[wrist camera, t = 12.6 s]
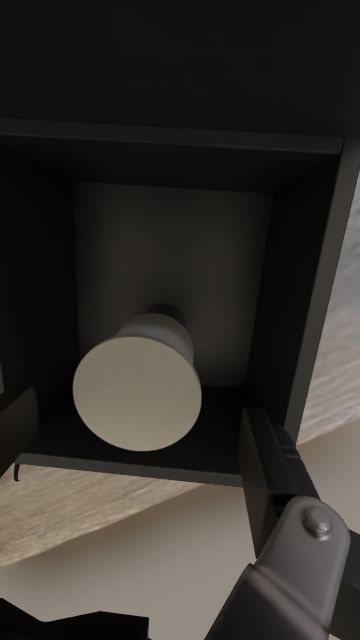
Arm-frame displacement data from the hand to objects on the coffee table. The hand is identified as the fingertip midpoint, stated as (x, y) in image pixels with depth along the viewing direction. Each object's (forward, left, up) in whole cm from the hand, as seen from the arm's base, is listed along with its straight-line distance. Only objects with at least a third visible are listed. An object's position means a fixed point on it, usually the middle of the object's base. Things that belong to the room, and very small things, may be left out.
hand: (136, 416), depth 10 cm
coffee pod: (0, 0, -7) cm, 7 cm away
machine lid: (-2, +8, +6) cm, 10 cm away
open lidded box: (-1, +2, -13) cm, 13 cm away
